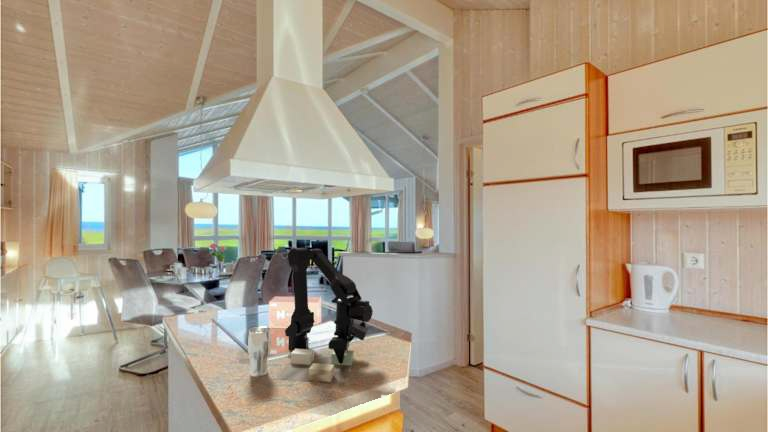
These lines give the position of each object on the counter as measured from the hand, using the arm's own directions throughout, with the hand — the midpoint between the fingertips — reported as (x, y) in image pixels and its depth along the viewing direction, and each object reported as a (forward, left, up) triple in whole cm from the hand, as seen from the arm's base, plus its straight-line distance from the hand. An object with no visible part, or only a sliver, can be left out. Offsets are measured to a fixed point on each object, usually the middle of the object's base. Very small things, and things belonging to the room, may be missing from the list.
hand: (342, 360), depth 126 cm
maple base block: (-4, -13, -1) cm, 14 cm away
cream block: (-14, -2, -1) cm, 14 cm away
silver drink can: (-25, -13, -2) cm, 28 cm away
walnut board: (-7, -7, -2) cm, 10 cm away
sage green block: (0, 0, -1) cm, 1 cm away
